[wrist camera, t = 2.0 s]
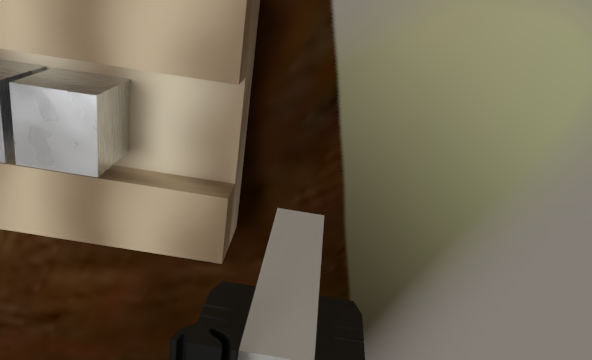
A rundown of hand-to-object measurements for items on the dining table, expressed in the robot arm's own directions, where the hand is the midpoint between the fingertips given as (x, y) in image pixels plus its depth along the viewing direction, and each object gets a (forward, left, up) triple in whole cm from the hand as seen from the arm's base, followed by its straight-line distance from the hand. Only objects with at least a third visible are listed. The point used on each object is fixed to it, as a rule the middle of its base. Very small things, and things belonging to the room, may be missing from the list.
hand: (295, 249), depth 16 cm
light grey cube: (-12, 0, -11) cm, 16 cm away
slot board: (-12, 0, -14) cm, 18 cm away
